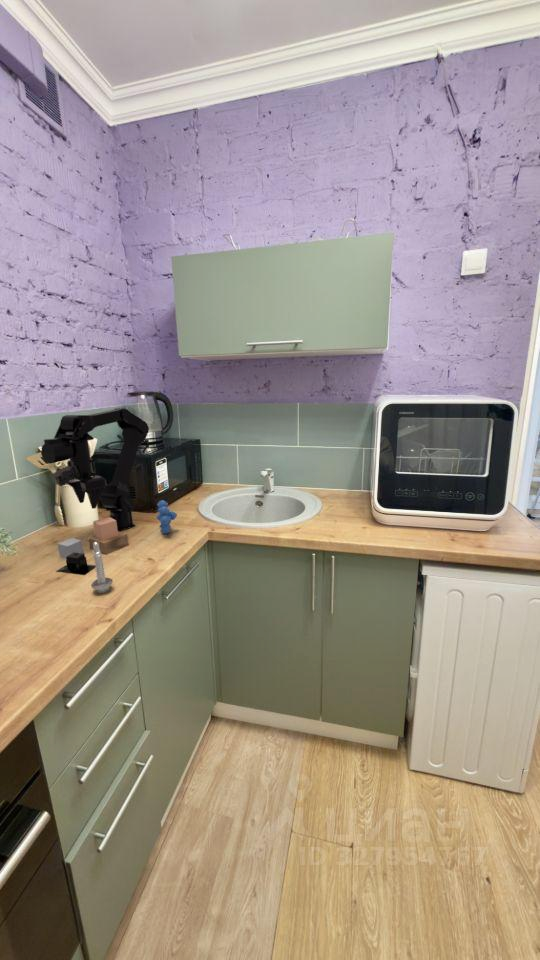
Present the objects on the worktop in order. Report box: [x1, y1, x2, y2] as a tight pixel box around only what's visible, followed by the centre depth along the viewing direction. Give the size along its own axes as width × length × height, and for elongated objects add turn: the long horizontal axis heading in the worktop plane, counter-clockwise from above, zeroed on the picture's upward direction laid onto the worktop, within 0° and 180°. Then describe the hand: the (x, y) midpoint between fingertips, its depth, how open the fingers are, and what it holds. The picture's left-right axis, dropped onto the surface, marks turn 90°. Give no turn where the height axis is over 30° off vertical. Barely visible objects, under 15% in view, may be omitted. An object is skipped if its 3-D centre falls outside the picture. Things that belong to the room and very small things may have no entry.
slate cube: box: [57, 537, 85, 560], centre depth 117 cm, size 4×4×4 cm
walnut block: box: [88, 531, 129, 556], centre depth 122 cm, size 8×8×4 cm
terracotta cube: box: [92, 516, 119, 541], centre depth 121 cm, size 5×5×5 cm
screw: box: [90, 542, 114, 594], centre depth 96 cm, size 13×5×5 cm
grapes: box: [156, 499, 178, 535], centre depth 130 cm, size 12×7×12 cm, turn 21°
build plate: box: [55, 552, 96, 576], centre depth 109 cm, size 12×7×5 cm, turn 73°
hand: (87, 505), depth 125 cm, fingers open, 9 cm apart
